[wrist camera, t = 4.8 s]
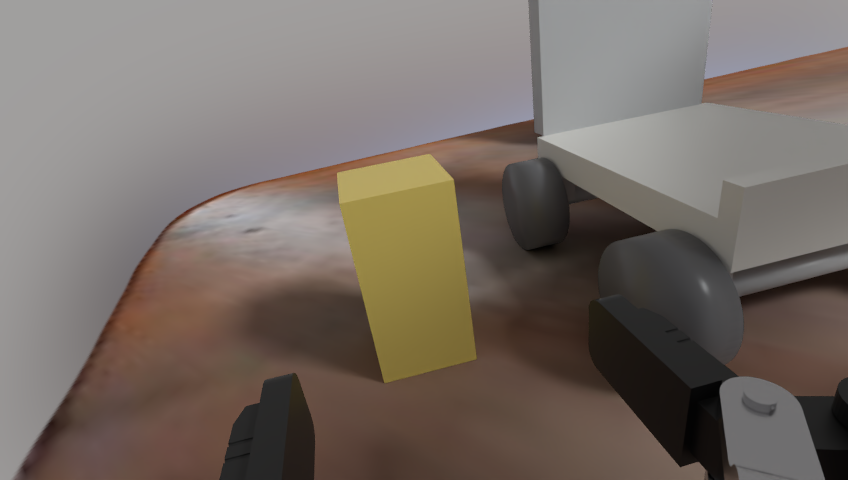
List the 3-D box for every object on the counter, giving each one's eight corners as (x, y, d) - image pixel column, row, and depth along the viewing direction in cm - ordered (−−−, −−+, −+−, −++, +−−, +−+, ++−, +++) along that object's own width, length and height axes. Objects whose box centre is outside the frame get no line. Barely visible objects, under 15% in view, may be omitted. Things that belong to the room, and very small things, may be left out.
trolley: (503, 228, 37) (479, -59, 29) (708, 181, 40) (744, -98, 31) (680, 413, 19) (764, -248, 10) (1051, 305, 21) (1384, -314, 12)
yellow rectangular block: (374, 327, 28) (337, 172, 23) (453, 308, 28) (429, 153, 24) (384, 383, 23) (339, 203, 19) (476, 359, 24) (453, 179, 19)
